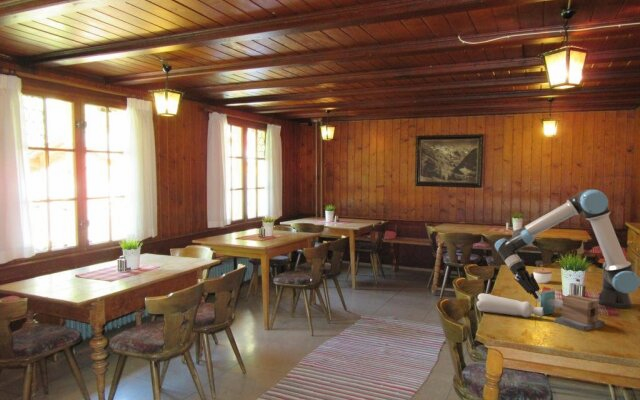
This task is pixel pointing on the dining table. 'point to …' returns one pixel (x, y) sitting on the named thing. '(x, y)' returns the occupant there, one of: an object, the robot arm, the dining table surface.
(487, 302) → the bottle
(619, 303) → the robot arm
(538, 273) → the lidded jar
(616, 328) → the dining table surface
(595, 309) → the bearing block
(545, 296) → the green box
